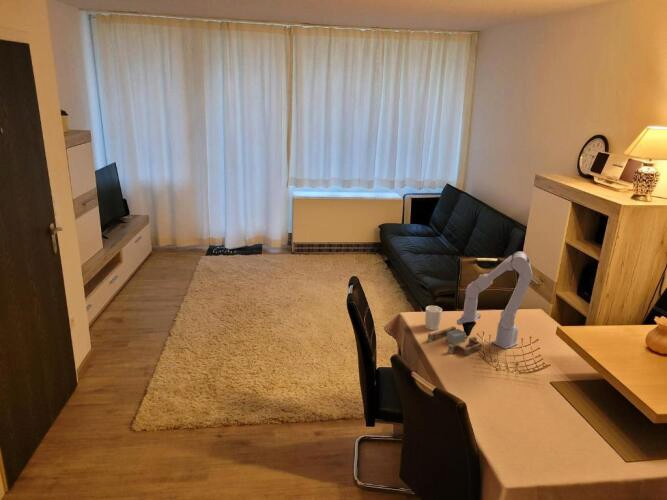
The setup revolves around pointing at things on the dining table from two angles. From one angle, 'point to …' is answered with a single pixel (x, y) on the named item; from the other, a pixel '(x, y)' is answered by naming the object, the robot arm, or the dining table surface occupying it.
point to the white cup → (433, 317)
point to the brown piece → (455, 347)
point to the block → (456, 336)
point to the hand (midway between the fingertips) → (466, 335)
